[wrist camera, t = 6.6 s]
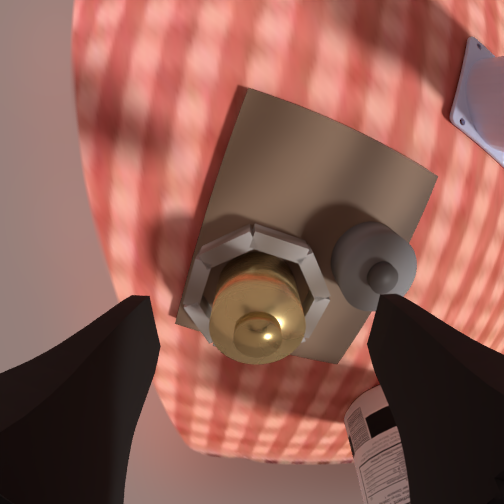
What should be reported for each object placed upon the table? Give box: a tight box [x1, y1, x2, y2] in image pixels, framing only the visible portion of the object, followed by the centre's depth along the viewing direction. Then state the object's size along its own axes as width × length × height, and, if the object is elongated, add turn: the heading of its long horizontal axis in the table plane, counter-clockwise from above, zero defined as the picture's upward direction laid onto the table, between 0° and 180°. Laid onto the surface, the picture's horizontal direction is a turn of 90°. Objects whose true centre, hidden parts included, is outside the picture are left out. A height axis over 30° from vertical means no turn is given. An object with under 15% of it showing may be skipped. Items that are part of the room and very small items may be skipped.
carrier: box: [175, 88, 438, 364], centre depth 17 cm, size 13×16×4 cm
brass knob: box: [209, 252, 306, 364], centre depth 16 cm, size 5×5×5 cm
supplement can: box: [344, 385, 410, 504], centre depth 18 cm, size 8×8×15 cm
